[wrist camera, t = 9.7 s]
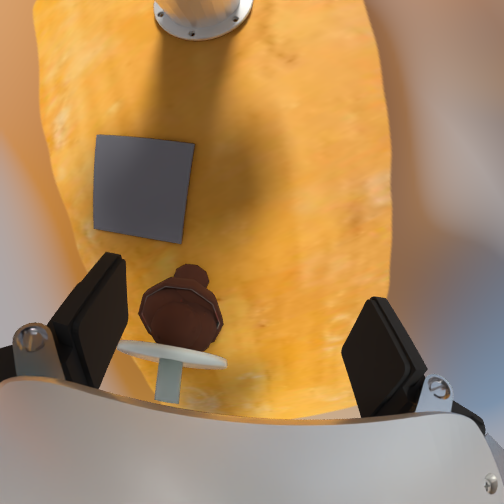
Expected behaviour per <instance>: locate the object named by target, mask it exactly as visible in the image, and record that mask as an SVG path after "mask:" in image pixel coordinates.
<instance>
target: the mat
mask: <svg viewBox="0 0 504 504" xmlns="http://www.w3.org/2000/svg"><path fill="white" fill-rule="evenodd" d="M194 147H195V144H192V143H185V142H177V141H169V140H160V139H151V138H140V137H129V136H115V135H97V137H96V149H95V164H94V190H93V219H94V229H99V230H104V231H110V232H116V233H121V234H127V235H132V236H138V237H144V238H149V239H155V240H161V241H166V242H172V243H178V244H181V243H182V235H183V226H184V217H185V209H186V201H187V193H188V186H189V179H190V172H191V165H192V159H193V153H194Z"/></svg>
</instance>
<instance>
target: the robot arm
mask: <svg viewBox="0 0 504 504" xmlns="http://www.w3.org/2000/svg"><path fill="white" fill-rule="evenodd" d="M252 5H253V0H155V1H154V14H155V18H156V20H157V22H158V23H159V25H160V26H161V27H162V28H163V29H164V30H165V31H167V32H168V33H169V34H171V35H173V36H175V37H177V38H180V39H184V40H191V41H203V40H209V39H214V38H217V37H220V36H223V35H225V34H227V33H229V32H231V31H232V30H234V29H235V28H237V27H238V26H239V25H240V24H241V23H242V22H243V21H244V20H245V19H246V18H247V16H248V15H249V13H250V11H251V8H252ZM162 15H163V16H162ZM161 16H162V17H161ZM234 20H237V22H234ZM192 34H195V35H194V36H191V35H192ZM127 322H128V303H127V285H126V261H125V260H124V259H122V257H121V255H119V254H114V253H109V252H106V253H105V254H104V255H103V256H102V257H101V258H100V259H99V261H98V262H97V263H96V264H95V265H94V267H93V268H92V269H91V270H90V271H89V273H88V274H87V275H86V276H85V278H84V279H83V280H82V281H81V282H80V283H78V284H77V285H76V287H75V288H74V289H73V290H72V292H71V293H70V294H69V296H68V297H67V298H66V300H65V301H64V302H63V304H62V305H61V306H60V307H59V309H58V310H57V312H56V313H55V314H54V316H53V317H52V318H51V320H50V321H49V323H48V324H47V325H44V324H42V323H36V322H35V323H28V324H26V325H23V326H22V327H20V328H19V329H18V330H17V331H16V332H15V334H14V336H13V342H12V343H13V345H10V346H7V347H3V348H0V504H504V449H503V448H502V447H501V446H500V445H499V444H498V443H497V442H496V441H495V440H494V439H493V438H492V437H491V436H490V435H489V434H488V433H487V434H486V435H485V425H484V422H483V420H482V419H481V418H480V417H479V416H477V415H476V414H474V413H473V412H471V411H469V410H468V409H466V408H465V407H463V406H461V405H459V404H458V403H456V402H455V401H453V389H452V387H451V385H450V383H448V381H447V380H446V379H445V378H443V377H442V376H440V375H437V374H430V375H428V376H427V377H426V378H425V376H424V373H425V372H426V371H427V367H426V365H425V364H424V361H423V360H422V358H421V356H420V354H419V353H418V351H417V349H416V347H415V345H414V344H413V342H412V340H411V338H410V337H409V335H408V334H407V332H406V330H405V328H404V327H403V325H402V323H401V322H400V320H399V318H398V317H397V315H396V313H395V312H394V310H393V309H392V307H391V305H390V304H389V302H388V301H387V299H386V298H381V297H374V296H373V297H371V298H370V300H367V301H366V302H365V304H364V306H363V308H362V310H361V312H360V314H359V316H358V318H357V320H356V322H355V324H354V326H353V328H352V330H351V332H350V334H349V336H348V338H347V339H346V341H345V343H344V345H343V347H342V351H341V354H342V358H343V361H344V364H345V367H346V370H347V373H348V376H349V379H350V382H351V386H352V389H353V392H354V395H355V398H356V402H357V405H358V408H359V411H360V415H361V418H352V419H329V420H289V419H266V418H251V417H240V416H230V415H221V414H213V413H206V412H199V411H193V410H187V409H181V408H175V407H170V406H165V405H160V404H155V403H151V402H146V401H142V400H138V399H133V398H128V397H125V396H121V395H117V394H113V393H110V392H106V391H103V390H99V387H100V385H101V382H102V380H103V377H104V375H105V373H106V370H107V368H108V365H109V363H110V360H111V358H112V356H113V354H114V352H115V349H116V347H117V345H118V343H119V340H120V338H121V336H122V334H123V332H124V329H125V327H126V325H127Z"/></svg>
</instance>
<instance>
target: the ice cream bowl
mask: <svg viewBox="0 0 504 504" xmlns="http://www.w3.org/2000/svg"><path fill="white" fill-rule="evenodd" d="M208 283H209V279H208V276H207V273H206V271H204V270H203V269H202V268H200V267H199V266H198V265H191V264H185V265H183V266H181V267H179V268H177V269H176V272H175V275H174V277H170V278H168V279H166V280H164V281H162V282H160V283H159V284H157V285H155V286H153V287H151V288H149V289H148V290H147V291H146V292H145V293H144V294H143V297H142V301H141V305H140V309H139V313H138V314H139V316H140V318H141V320H142V322H143V324H144V326H145V328H146V330H147V332H148V333H149V334H150V335H152V337H153V339H154V340H155V342H156V343H158V344H163V345H169V346H175V347H180V348H185V349H191V350H195V351H200V352H203V351H205V350H206V349H207V348H208V347H209V345H210V343H212V342H214V341H215V339H216V337H217V336H218V334H219V332H220V330H221V328H222V326H223V319H222V315H221V312H220V309H219V306H218V303H217V300H216V297H215V295H214V294H213V293H212V292H211V291H209V290H208V289H207V285H208Z"/></svg>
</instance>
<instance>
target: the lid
mask: <svg viewBox="0 0 504 504" xmlns="http://www.w3.org/2000/svg"><path fill="white" fill-rule="evenodd" d="M117 350H119V351H121V352H123V353H126V354H128V355H131V356H134V357H138V358H141V359H145V360H149V361H153V362H158V363H159V365H158V373H157V382H156V391H155V400H158V401H162V402H168V403H176V404H179V395H180V386H181V376H182V367H188V368H198V369H226V368H227V360H226V359H225V358H223V357H220V356H216V355H213V354H209V353H205V352H200V351H195V350H191V349H185V348H180V347H175V346H169V345H163V344H157V343H150V342H143V341H133V340H120V341H119V343H118V345H117Z"/></svg>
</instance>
